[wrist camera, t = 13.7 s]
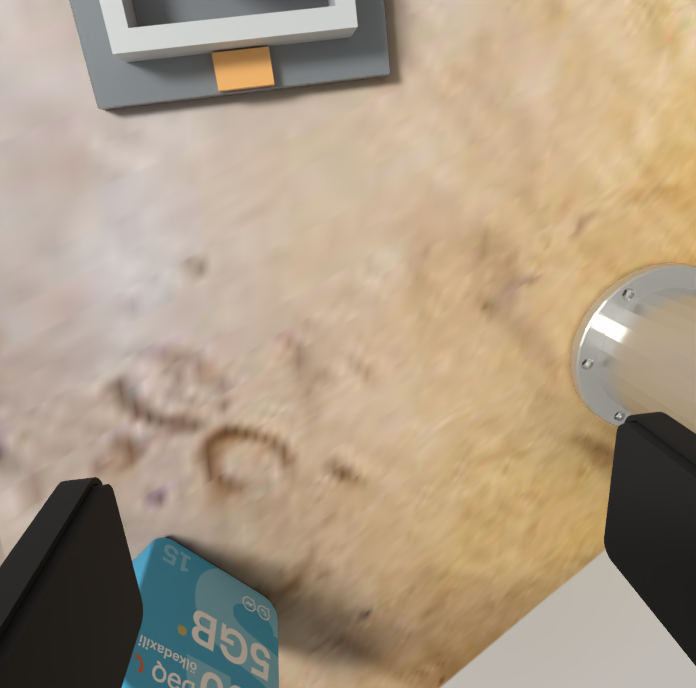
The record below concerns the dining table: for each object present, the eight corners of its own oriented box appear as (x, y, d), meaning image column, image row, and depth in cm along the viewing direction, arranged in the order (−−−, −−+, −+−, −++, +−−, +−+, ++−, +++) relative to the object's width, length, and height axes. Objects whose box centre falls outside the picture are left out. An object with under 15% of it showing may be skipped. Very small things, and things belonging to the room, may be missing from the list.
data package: (279, 603, 43) (281, 763, 31) (242, 637, 43) (232, 806, 32) (156, 528, 39) (109, 680, 27) (118, 567, 39) (57, 731, 28)
